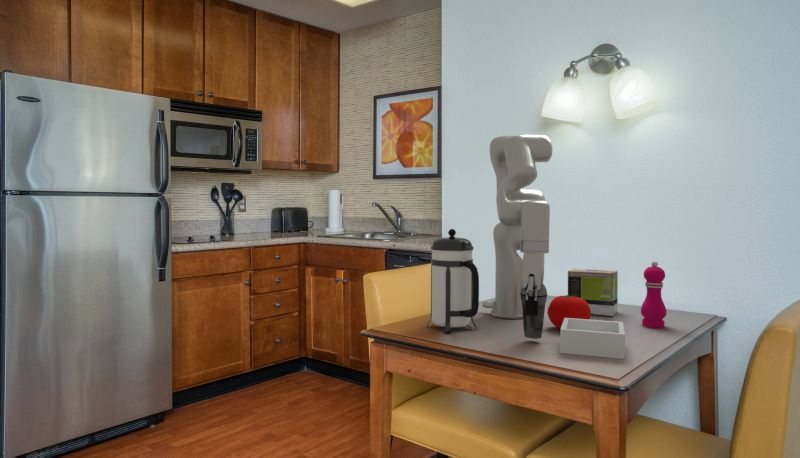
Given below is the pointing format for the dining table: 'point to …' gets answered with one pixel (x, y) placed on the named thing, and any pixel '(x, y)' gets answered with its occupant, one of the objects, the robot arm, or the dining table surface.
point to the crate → (592, 338)
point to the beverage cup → (534, 323)
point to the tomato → (567, 309)
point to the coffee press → (453, 283)
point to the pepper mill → (653, 298)
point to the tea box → (595, 289)
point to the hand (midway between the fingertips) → (533, 311)
